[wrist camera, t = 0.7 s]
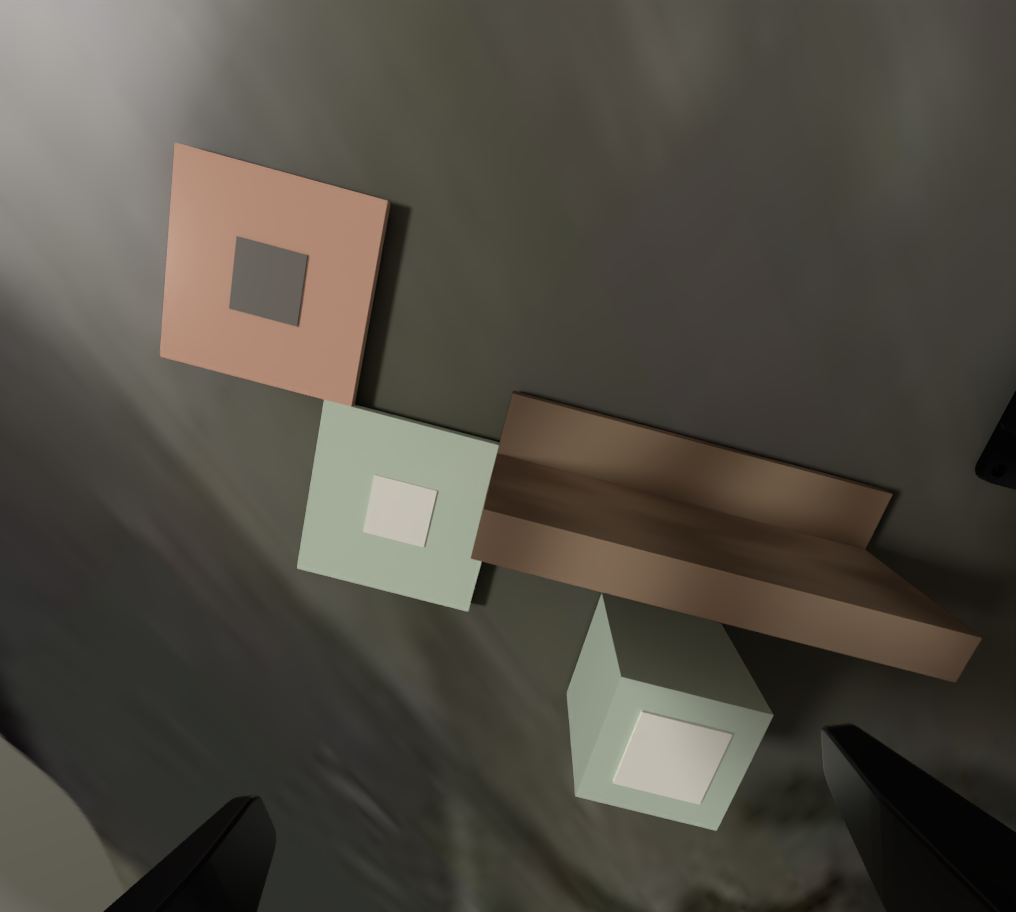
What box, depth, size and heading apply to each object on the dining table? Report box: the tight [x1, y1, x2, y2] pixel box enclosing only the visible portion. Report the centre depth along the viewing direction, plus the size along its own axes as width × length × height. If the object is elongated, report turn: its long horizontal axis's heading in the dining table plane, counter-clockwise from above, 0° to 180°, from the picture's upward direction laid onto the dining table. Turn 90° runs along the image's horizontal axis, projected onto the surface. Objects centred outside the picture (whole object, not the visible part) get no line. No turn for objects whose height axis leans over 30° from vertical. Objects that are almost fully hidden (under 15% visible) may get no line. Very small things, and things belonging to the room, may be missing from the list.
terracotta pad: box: [160, 143, 391, 406], centre depth 19 cm, size 7×7×1 cm
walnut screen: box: [471, 391, 982, 683], centre depth 17 cm, size 14×4×6 cm, turn 75°
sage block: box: [567, 593, 774, 831], centre depth 20 cm, size 5×5×5 cm
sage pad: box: [297, 400, 500, 612], centre depth 21 cm, size 7×7×1 cm
